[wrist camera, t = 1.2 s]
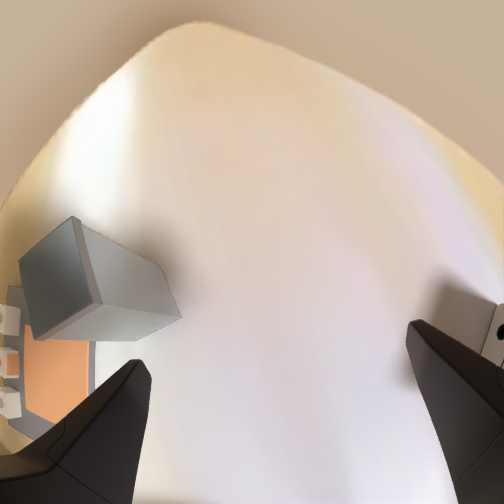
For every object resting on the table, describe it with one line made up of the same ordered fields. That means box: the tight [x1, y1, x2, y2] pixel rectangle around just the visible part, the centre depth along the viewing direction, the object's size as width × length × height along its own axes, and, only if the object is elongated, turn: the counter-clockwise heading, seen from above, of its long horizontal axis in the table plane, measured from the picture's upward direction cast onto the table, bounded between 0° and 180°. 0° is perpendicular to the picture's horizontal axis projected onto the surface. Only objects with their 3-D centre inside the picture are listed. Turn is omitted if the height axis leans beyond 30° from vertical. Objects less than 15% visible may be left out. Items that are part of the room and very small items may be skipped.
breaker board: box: [0, 286, 96, 441], centre depth 23 cm, size 18×15×4 cm
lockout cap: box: [18, 216, 182, 341], centre depth 19 cm, size 5×5×12 cm
